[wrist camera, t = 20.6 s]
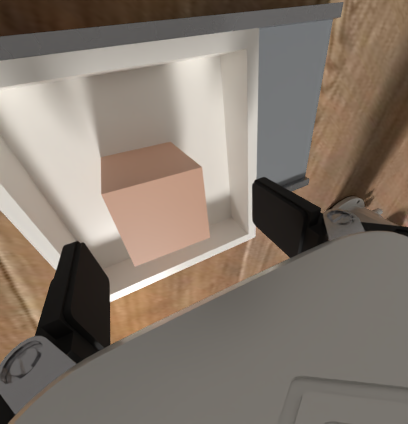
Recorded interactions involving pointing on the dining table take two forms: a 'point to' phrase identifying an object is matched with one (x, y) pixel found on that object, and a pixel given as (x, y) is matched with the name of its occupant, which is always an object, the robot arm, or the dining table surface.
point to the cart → (128, 141)
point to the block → (155, 200)
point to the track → (267, 74)
